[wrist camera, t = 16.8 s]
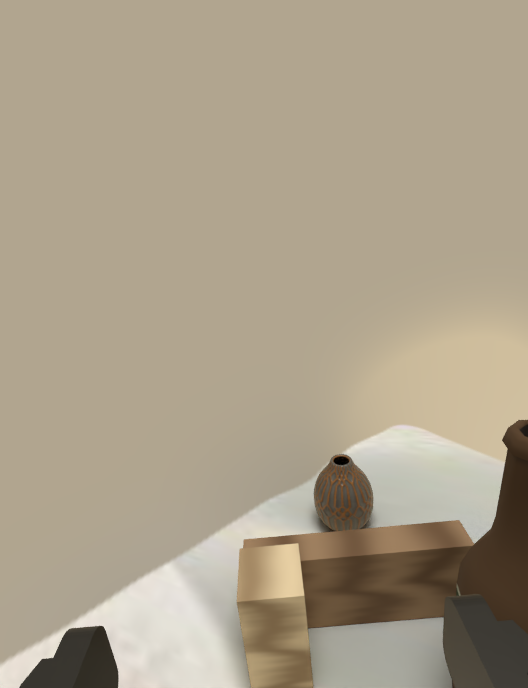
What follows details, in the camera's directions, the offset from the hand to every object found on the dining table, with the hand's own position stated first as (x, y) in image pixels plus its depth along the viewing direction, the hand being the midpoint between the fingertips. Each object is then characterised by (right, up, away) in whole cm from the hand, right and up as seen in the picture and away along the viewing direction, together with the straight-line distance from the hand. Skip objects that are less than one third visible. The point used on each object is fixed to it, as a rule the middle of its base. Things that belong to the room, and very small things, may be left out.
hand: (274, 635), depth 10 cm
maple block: (+1, -21, +27) cm, 34 cm away
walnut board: (+9, -18, +30) cm, 36 cm away
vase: (+10, -15, +41) cm, 45 cm away
